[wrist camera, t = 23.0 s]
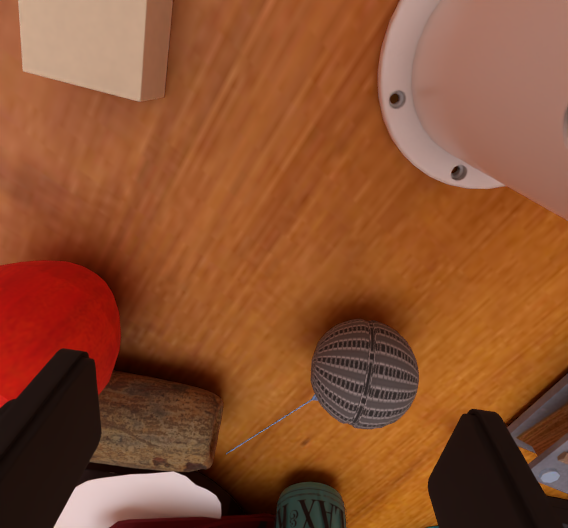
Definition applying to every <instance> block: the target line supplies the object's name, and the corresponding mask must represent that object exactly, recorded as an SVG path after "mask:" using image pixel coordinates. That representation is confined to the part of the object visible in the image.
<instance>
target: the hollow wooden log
mask: <svg viewBox="0 0 568 528" xmlns="http://www.w3.org/2000/svg"><path fill="white" fill-rule="evenodd" d="M98 398H99V409H100V420H101V438H100V442H99V445H98V447H97V449H96V451H95V452H94V454H93V456H92V458H91V460H90V462H94V463H102V464H109V465H118V466H122V467H129V468H139V469H150V470H161V471H176V472H191V471H195V470H199V469H208V468H210V467H211V466H212V464H213V460H214V454H215V449H216V445H217V439H218V433H219V429H220V423H221V418H222V411H223V401H222V399H221V398H220V397H219V396H218V395H216V394H214V393H212V392H210V391H207V390H204V389H201V388H197V387H193V386H190V385H185V384H181V383H177V382H172V381H168V380H163V379H158V378H153V377H147V376H143V375H137V374H132V373H126V372H120V371H114V370H113V371H112V374H111V377H110V380H109V382H108V384H107V385H106V386H105V388H104V389H103V390H102V392H101V393H100V394H99V396H98Z"/></svg>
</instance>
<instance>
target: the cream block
mask: <svg viewBox="0 0 568 528" xmlns="http://www.w3.org/2000/svg"><path fill="white" fill-rule="evenodd" d="M18 4H19V19H20V34H21V50H22V65H23V71H24V72H27V73H31V74H35V75H39V76H43V77H46V78H50V79H54V80H58V81H62V82H65V83H69V84H73V85H77V86H81V87H85V88H88V89H92V90H96V91H100V92H104V93H107V94H111V95H115V96H119V97H123V98H127V99H130V100H134V101H138V102H142V101H147V100H153V99H158V98H163V97H164V95H165V84H166V73H167V62H168V51H169V40H170V29H171V18H172V7H173V0H18Z"/></svg>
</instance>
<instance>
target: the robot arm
mask: <svg viewBox="0 0 568 528" xmlns="http://www.w3.org/2000/svg"><path fill="white" fill-rule="evenodd" d="M393 94H397V95H398V101H397V102H396V103H394V104H392V103H391V102H390V97H391V96H392V95H393ZM378 98H379V103H380V107H381V112H382V117H383V120H384V123H385V125H386V127H387V130H388V132H389V134H390V136H391V139H392V140H393V142H394V143H395V144H396V146H397V147H398V149H399V150H400V151H401V153H402V154H403V155H404V156H405V157H406V158H407V159H408V160H409V161H410V162H411V163H412V164H413V165H414V166H415V167H417V168H418V169H420V170H421V171H422V172H424V173H425V174H427V175H428V176H429V177H432V178H434V179H436V180H439V181H441V182H443V183H445V184H448V185H453V186H457V187H462V188H467V189H491V188H497V187H503V186H507V187H509V188H511V189H513V190H514V191H516V192H518V193H520V194H522V195H523V196H525V197H527V198H529V199H530V200H532V201H534V202H536V203H537V204H539V205H541V206H543V207H544V208H546V209H548V210H550V211H551V212H553V213H555V214H557V215H559V216H560V217H562V218H564V219H566V220H567V221H568V0H400V1H399V3H398V5H397V7H396V9H395V11H394V13H393V15H392V17H391V19H390V21H389V24H388V28H387V31H386V34H385V37H384V40H383V43H382V47H381V53H380V60H379V67H378ZM456 166H457V167H458V169H457V171H456V172H455V173H451V172H452V170H453V168H454V167H456ZM100 438H101V420H100V409H99V398H98V388H97V377H96V366H95V360H94V359H91V358H89V354H88V353H87V352H85V351H79V350H72V349H65V348H62V349H60V350H59V351H57V352H56V354H55V355H54V356H53V357H52V358H51V359H50V360H49V362H48V363H47V364H46V365H45V366H44V367H43V368H42V370H41V371H40V372H39V373H38V374H37V375H36V376H35V378H34V379H33V380H32V381H31V382H30V383H29V384H28V386H27V387H26V388H25V389H24V390H23V391H22V392H21V394H20V395H19V396H18V397H17V398H16V399H12V400H10V401H8V402H6V403H5V404H4V405H3V406H2V407H1V408H0V528H54V526H55V524H56V522H57V520H58V518H59V517H60V515H61V513H62V511H63V509H64V507H65V506H66V504H67V502H68V500H69V498H70V496H71V495H72V493H73V491H74V489H75V487H76V485H77V484H78V482H79V480H80V478H81V476H82V474H83V473H84V471H85V469H86V467H87V465H88V463H89V462H90V460H91V458H92V456H93V454H94V452H95V451H96V449H97V447H98V445H99V442H100ZM428 491H429V496H430V499H431V502H432V506H433V509H434V512H435V516H436V519H437V522H438V526H439V528H564V526H563V524H562V523H561V521H560V519H559V518H558V516H557V514H556V512H555V511H554V509H553V507H552V505H551V504H550V502H549V500H548V498H547V497H546V495H545V493H544V491H543V490H542V488H541V486H540V484H539V483H538V481H537V479H536V477H535V476H534V474H533V472H532V471H531V469H530V467H529V465H528V464H527V462H526V460H525V458H524V457H523V455H522V453H521V451H520V450H519V448H518V446H517V444H516V443H515V441H514V439H513V437H512V436H511V434H510V432H509V430H508V429H507V427H506V425H505V424H504V422H503V420H502V418H501V417H500V416H499V414H497V413H496V412H491V411H484V410H477V409H471V410H469V412H468V413H467V414H463V415H462V416H461V418H460V420H459V422H458V424H457V425H456V427H455V429H454V431H453V433H452V435H451V437H450V439H449V441H448V443H447V445H446V447H445V448H444V450H443V452H442V454H441V456H440V458H439V460H438V462H437V464H436V466H435V468H434V470H433V471H432V473H431V475H430V477H429V480H428Z"/></svg>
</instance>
